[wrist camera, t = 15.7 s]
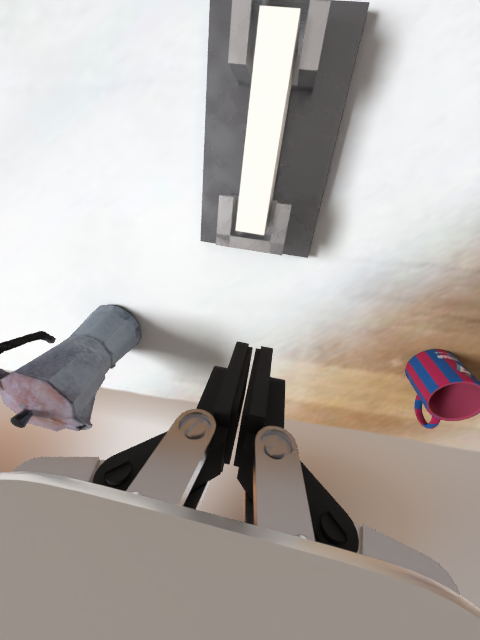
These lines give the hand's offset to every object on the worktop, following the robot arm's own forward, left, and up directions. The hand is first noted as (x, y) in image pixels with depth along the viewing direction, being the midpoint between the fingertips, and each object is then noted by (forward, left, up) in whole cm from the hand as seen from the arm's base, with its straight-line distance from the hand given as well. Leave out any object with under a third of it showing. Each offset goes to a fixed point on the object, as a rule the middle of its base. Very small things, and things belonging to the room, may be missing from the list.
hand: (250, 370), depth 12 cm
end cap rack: (+3, -11, -25) cm, 28 cm away
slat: (+3, -11, -23) cm, 26 cm away
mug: (-25, +15, -25) cm, 39 cm away
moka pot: (+25, +17, -25) cm, 39 cm away
